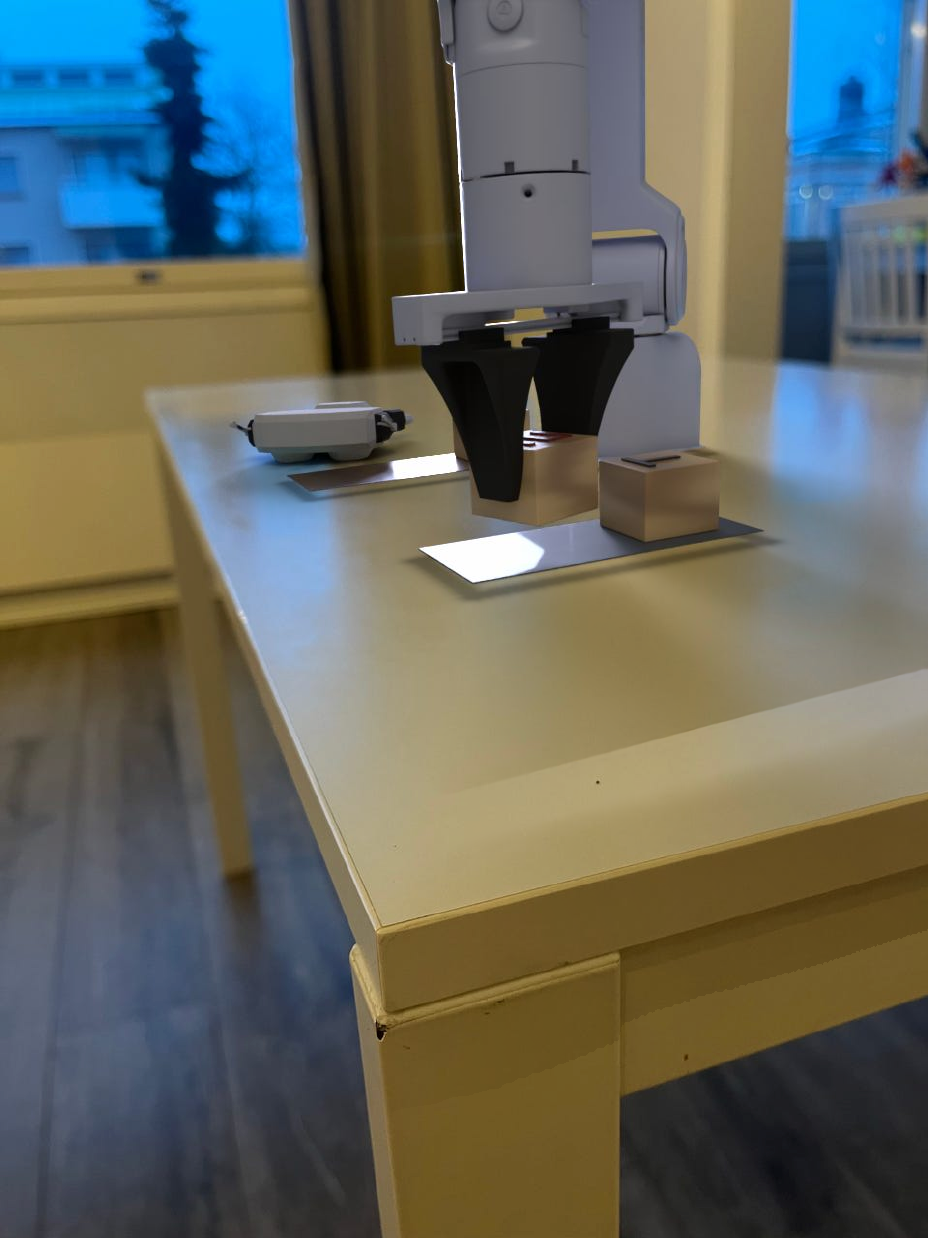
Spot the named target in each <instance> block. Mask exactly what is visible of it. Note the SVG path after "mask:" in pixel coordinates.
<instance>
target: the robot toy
mask: <svg viewBox="0 0 928 1238" xmlns="http://www.w3.org/2000/svg"><path fill="white" fill-rule="evenodd" d="M414 421H415V417H414V415H413V414H408V413H405V411H404V410H402V409H400V408H392V409H382V407H379V406H378V407H376V406H374V407H373V406H371V405H370V404H369V403H368V402H367V401H363V400H362V401H361V400H360V401H359V400H358V401H339V402H338V401H336V402H322V403H318V404H317V405H316V406H315V407H314V408H312V409H311V408H310V409H294V410H293V409H292V410H279V411H278V410H277V411H267V412H263V413H257V414H254V418H253V419H250V421H249V422H248V424H247V425H246V426H247V427H246V428H245V427H244V426H242V425H240V424H238V423H237V422H236V421H233V420H232V421H231V420H230V421H229V427H230V428H232V429H233V428H234V429H236V430H238V431H240V432H242V433H244V435H245V436H246V437H247V439H248V442H249V444H250V445H251V447H254V448H256V450H257V451H258V453H261V454H270V455H271V456H272V457H273V458H274V460H275V461H277V462H279V463H299V462H305V461H308V460H311V459H312V458H313V457H314V456H315V454H316V453H327V454H329V456H330V457H331V458H332V459H333V460H336V461H356V460H363V459H366V458H368V457H369V456H370V454H371V453H372V451H373V449H375V448H378V447H380V446H382V445H384V442H386V441H388V440H390V438H391V437H392V435H393V434H394V433H395V432H396V433H397V432H401V431H403V430H405V429H406V426H407V425H410V424H413V423H414Z"/></svg>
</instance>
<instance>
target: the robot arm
mask: <svg viewBox="0 0 928 1238" xmlns="http://www.w3.org/2000/svg"><path fill="white" fill-rule="evenodd" d="M436 1H437V3H436V4H437V7H438V15H439V27H440V28H439V29H440V30H439V31H440V44H441V46H442V50H443V58H444V61H445V63H447V64H449V65H450V66H451V67H453V82H454V100H455V119H456V121H455V122H456V139H457V140H456V141H457V155H458V158H457V159H458V175H459V177H458V178H459V195H460V213H461V215H460V216H461V232H462V233H461V234H462V252H463V270H464V287H465V288H464V289H465V290H464V291H454V292H443V293H430V294H429V293H428V294H414V295H401V296H392V297H391V308H392V309H391V310H392V322H393V333H394V345H395V346H419V355H420V364H421V365H420V366H421V367H422V368H423V370H424V371H425V372H426V374H427V375H428V377H429V379H430V380H431V382H432V383H433V385H434V386H435V388H436V390H437V392H438V393H439V395H440V396H441V398H442V400H443V402H444V404H445V406H446V408H447V410H448V412H449V413H450V415H451V419H452V418H453V420H454V422H455V425H456V427H457V429H458V432H459V435H460V437H461V440H462V443H463V445H464V448H465V451H466V454H467V457H468V461H469V464H470V467H471V470H472V474H473V477H474V480H475V484H476V487H477V490H478V494H479V497H480V498H482V499H488V500H494V501H500V502H506V503H510V502H514V501H518V500H519V495H520V490H521V483H522V474H523V450H524V423H525V414H526V409H527V408H528V407H527V406H528V402H529V401H528V400H529V395H530V390H531V385H532V381H533V383H534V388H535V392H536V397H537V403H538V407H539V416H540V429H541V430H540V431H545V432H557V433H568V434H579V435H590V436H597V438H598V463H599V460H601V459H608V458H615V457H623V456H630V455H637V454H644V453H651V452H658V451H666V450H672V451H676V452H683V451H690V450H698V449H704V448H706V445H702V444H700V434H701V433H700V431H701V396H702V394H701V393H702V392H701V391H702V364H701V358H700V354H699V351H698V348H697V345H696V343H695V341H693V339H692V338H691V337H690V336H689V335H688V334H686V333H684V332H682V331H678V330H670V327H675V326H677V325H678V324H679V322H680V321H681V320H682V319H683V318H684V317H685V315H686V314H685V313H686V307H687V292H688V249H687V241H686V219H685V217H684V215H683V214H682V211H681V208H680V207H679V205H677V204H676V203H675V202H674V201H672V200H671V199H670V198H668V197H667V196H665V195H664V194H662V193H661V192H660V191H658V190H657V189H655V188H654V187H653V186H651V184H649V183H648V182H647V180H646V0H436ZM630 230H631V231H632V230H647V231H648V230H649V231H653V232H655V234H648V235H635V236H621V237H607V238H593V233H603V232H617V231H618V232H619V231H630ZM529 309H530V310H532V309H542V313H543V314H544V316H545V318H536V319H526V320H516V321H509V320H514V319H515V318H516V312H515V311H517V310H529ZM506 320H507V322H497V323H488V322H489V321H506ZM669 330H670V331H669ZM541 331H542V332H543V331H546V334H541V335H533V336H524V337H523V338H522V339H521V342H520V344H521V346H512V341H511V339H508V340H507V339H506V340H505V336H506V335H516V334H525V333H532V332H533V333H534V332H541ZM453 420H452V421H453Z"/></svg>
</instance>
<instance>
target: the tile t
mask: <svg viewBox="0 0 928 1238" xmlns="http://www.w3.org/2000/svg"><path fill="white" fill-rule="evenodd" d="M721 465H722V463H721V461H719V460H716V459H711V458H708V457H707V458H706V457H702V456H698V455H694V454H690V453H685V452H682V451H677V452H676V451H672V450H666V451H658V452H651V453H644V454H637V455H630V456H623V457H615V458H608V459H601V460H599V462H598V509H599V519H600V525H601V526H604V527H606V528H609V529H612V530H614V531H617V532H619V533H622V534H624V535H627V536H630V537H632V538H635V539H637V540H640V541H642V542H645V543H646V542H652V541H657V540H663V539H669V538H674V537H680V536H686V535H691V534H697V533H702V532H708V531H714V530H718V529H719V517H720V500H721V499H720V497H721V468H722V467H721Z"/></svg>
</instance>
